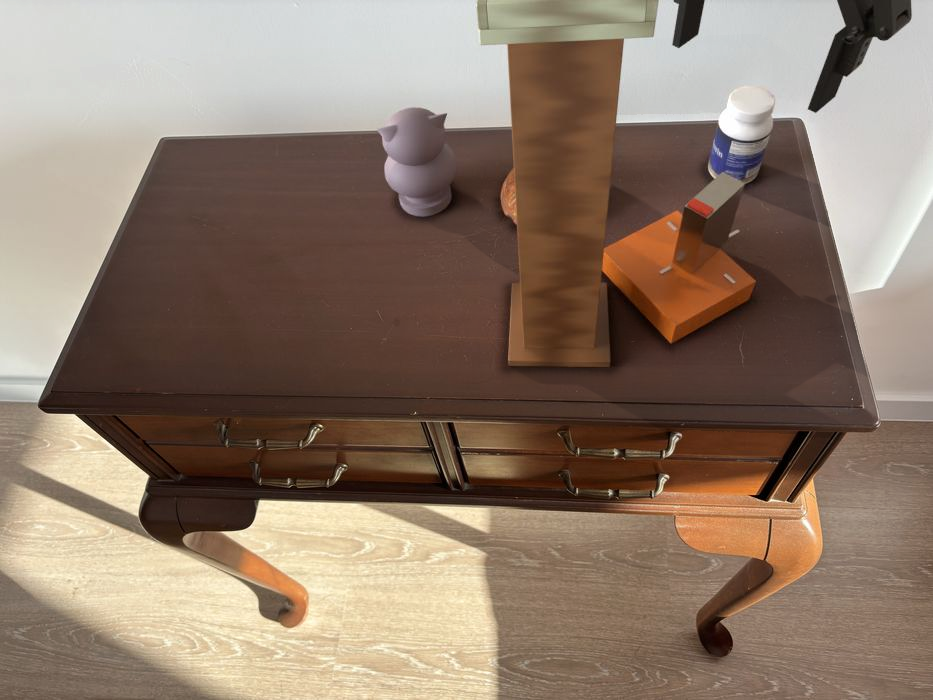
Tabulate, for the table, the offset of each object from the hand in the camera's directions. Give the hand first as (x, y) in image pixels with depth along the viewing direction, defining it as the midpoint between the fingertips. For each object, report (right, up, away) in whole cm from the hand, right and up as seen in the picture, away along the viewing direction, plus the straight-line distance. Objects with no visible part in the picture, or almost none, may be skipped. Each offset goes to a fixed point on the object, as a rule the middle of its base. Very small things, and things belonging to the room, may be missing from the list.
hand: (749, 70), depth 59 cm
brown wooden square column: (-15, -21, +12) cm, 29 cm away
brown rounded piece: (-14, -6, +23) cm, 28 cm away
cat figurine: (-29, -5, +25) cm, 39 cm away
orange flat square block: (-1, -16, +14) cm, 22 cm away
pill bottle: (+7, -3, +23) cm, 24 cm away
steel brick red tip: (0, -14, +12) cm, 18 cm away
